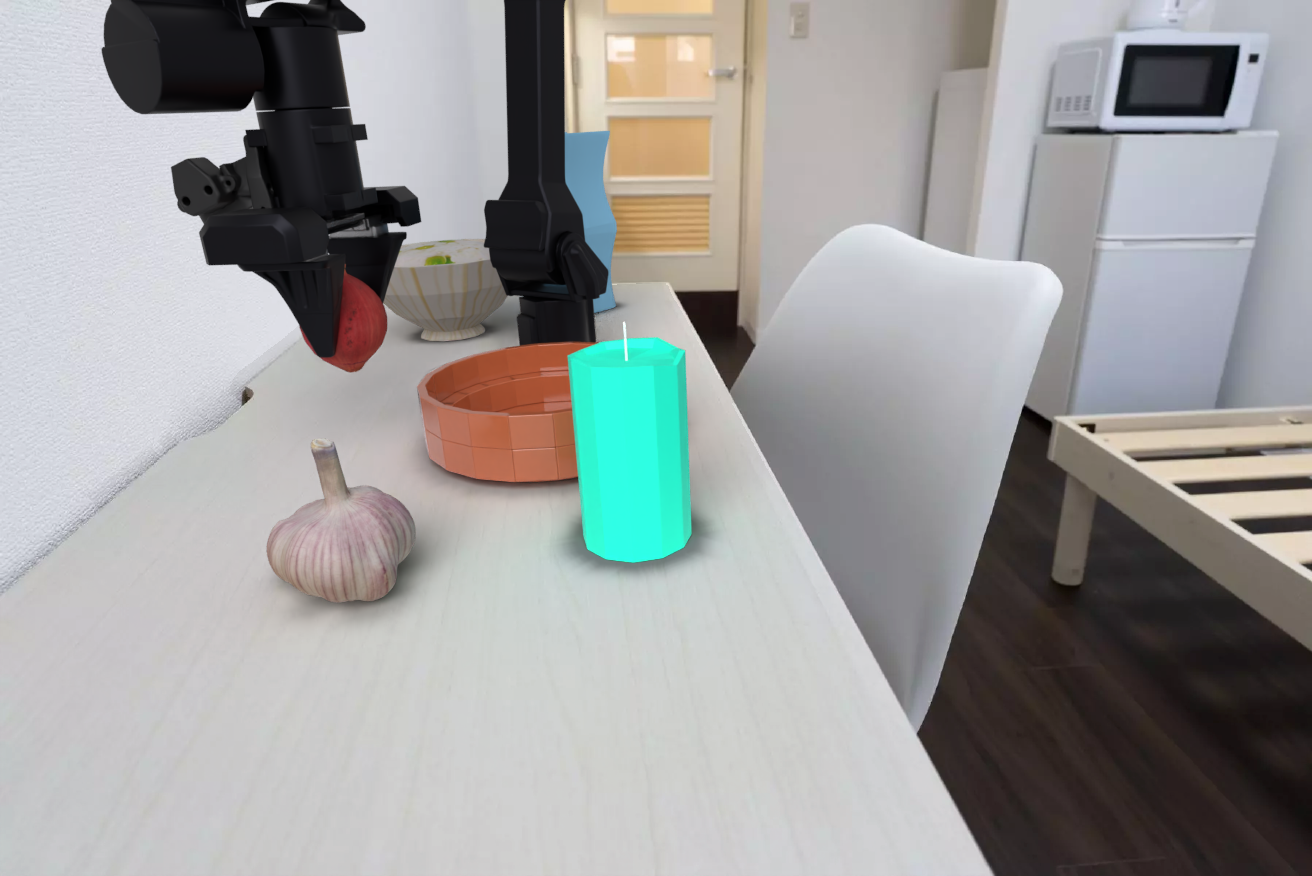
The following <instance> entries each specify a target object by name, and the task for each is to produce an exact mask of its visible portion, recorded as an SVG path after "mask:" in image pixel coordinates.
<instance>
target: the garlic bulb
mask: <svg viewBox="0 0 1312 876" xmlns="http://www.w3.org/2000/svg"><path fill="white" fill-rule="evenodd" d="M310 450H311V454H312V456H313V459H314V463H315V467H316V471H317V474H318V477H319V483H320V486H321V491H322V494H323V498H319V499H315V500H314V501H312V502H309V503H306V504H303V505H302V506H301V507H299V508H298V509H296V510H295V512H294V513H293V514H291V515H290V516H289V517H287V518H284V519H281V520H278V521H277V523H275V524H274V526H273V528H272V529H271V531H270V532H269V535H268V539H267V542H266V556H267V561H268V564H269V565H270V568H271V570H272V572H274V574H275V575H276V576H277V577H278V578H279V579H281V580H282V581H284V582H286V583H287V584H290V585H291V586H293V587H294V588H295V589H296V590H298V591H299V592H301V593H303V594H305V595H308V596H312V597H319V598H323V599H324V600H325V601H327V602H331V603H345V602H352V603H353V602H355V601H362V602H363V601H364V602H374V601H377V600H380V599H382V598H383V597H385V596H387V595H388V594H389V593H390V592H391V591H392V589H393V588H394V587H395V585H396V582H397V577H398V567H399V565H400V564H401V563H402V562H403V561H404V560H405V559H406V558H407V557H408V555H409V554H410V553H411V551H412V549H413V547H414V545H415V543H416V542H415V541H416V533H417V532H416V525H415V521H414V518H413V517H412V514H411V513H410V511H409V510H408V508H407V507H406V505H405V504H403V503H402V501H400V500H399V499H397V498H396V497H394V496H393V495H391V494H389V493H386V492H384V491H382V490H381V489H379V488H377V487H375V486H371V485H366V484H365V485H364V484H363V485H358V486H353V487H348V485H347V482H346V478H345V475H344V472H343V469H342V466H341V465H342V464H341V462H340V461H341V460H340V457H339V454H338V451H337V446H336V444H335V442H334V441H332V440H330V439H327V438H314V439H312V442H310Z"/></svg>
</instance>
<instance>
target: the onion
mask: <svg viewBox="0 0 1312 876" xmlns="http://www.w3.org/2000/svg"><path fill="white" fill-rule="evenodd" d="M345 268H346V264H345ZM298 326H299V331H300V333H301V336H302V338H303V340H304V342H305V343H306V345H307V346H308V347H309V349H310V350H311V351H312V353H313V354H314V355H315V356H317V354H316V353H315V351H314V349H313V348H312V346H311V344H310V342H309V341H308V339H307V337H306V336H305V334H304V332H303V331H302V329H301V327H300V325H299V324H298ZM387 331H388V315H387V311H386V306H385V304H384V303H382V301H381V299H380V298H379V297H378V295H377V294H376V293H375V292H374V291H373V290H372V289H371V288H370V287H369V286H368V285H366V284H365V283H364V282H362V281H361V280H359V279H357V278H355V277H353V276H351V275H349V274H347V273H346V270H345V269H344V280H343V289H342V300H341V310H340V321H339V332H338V339H337V346H336V352H335V355H334V356H333V357H331V358H320V357H318V358H319V359H321V360H322V361H323V362H326V363H327V364H329V365H331V366H334V367H336V368H337V369H340V370H342V371H345V372H347V373H357V372H359V371H361V370H362V369H363V368H364V366H365V365H366V363H367V362H368V361H369V360H370V359H372V357H373V356H374V355H375V354H376V353H377V351H378V350H379V349H380V348H381V346H382V345H383V343H384V341H385V338H386V335H387Z"/></svg>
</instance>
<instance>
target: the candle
mask: <svg viewBox="0 0 1312 876" xmlns="http://www.w3.org/2000/svg"><path fill="white" fill-rule="evenodd" d="M622 331H623V338H621V339H612V340H606V341H600V342H597V344H595V345H592V346H589V347H587V348H584V349H582V350H579V351H577V352H574V353H572V354H570V355H567V356H568V367H569V379H570V390H571V401H572V413H573V424H574V435H575V447H576V458H577V470H578V477H577V478H578V479H577V481H578V491H579V503H580V513H581V524H582V535H583V536H582V537H583V539H584V543H585V547H586V550H588V551H589V552H591V553H593V554H595V555H597V556H598V557H600V558H602V559H604V560H607V561H615V562H616V561H617V562H625V563H641V562H646V561H654V560H660V559H664V558H666V557H668V556H670V555H673V554H674V553H676V552H678V551H681V550H682V549H684V548H685V547H686V545H687V543H688V541H689V540H690V538H691V536H692V533H693V531H692V530H693V529H692V504H691V502H692V501H691V476H690V475H691V474H690V473H691V472H690V444H689V417H688V416H689V414H688V389H687V387H688V386H687V385H688V384H687V359H686V357H687V356H686V350H685V349H683V348H680V347H677V346H675V345H674V344H672V343H670V342H668V341H666V340H664V339H662V338H660V337H659V336H654V337H652V336H651V337H628V338H627V335H628V334H627V322H626V321H622Z"/></svg>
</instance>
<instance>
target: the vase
mask: <svg viewBox="0 0 1312 876" xmlns="http://www.w3.org/2000/svg"><path fill="white" fill-rule="evenodd" d="M610 135H611V131H610V130H597V131H582V132H581V131H579V132H567V131H565V180H566V184H567V186H568V188H569V190H570V192H571V194H572V195H573V197H574V199H575V201H576V203H577V205H578V207H579V208H580V210H581V212H582V215H583V224H584V233H585V242H586V243H587V244H588V245H589V247H590V248H591V249H592V250H593V252H594V253H595V254H596V255H597V257H598V258H599V259H600V260H601V262H602V263H603V264H604V265H605V267H606V268H607V269H608V272H609V274H608V282H607V289H606V293H604V294H601V295H599V296H600V298H597V299H593V304H594V314H596V313H600V312H604V311H607V310H610V309H611V310H612V309H613V308H614V309H615V308H616V307H617V304H616V300H615V299H616V298H615V296H614V295H615V294H614V290H613V284H612V281H613V280H612V259H613V252H614V246H615V242H616V241H615V240H616V236H617V232H618V227H617V225H618V224H617V221H616V218H615V216H614V213H613V211H612V209H611V206H610V204H609V200H608V197H607V194H606V189H605V182H604V168H605V167H604V166H605V158H606V152H607V147H608V144H609V143H608V142H609V139H610Z"/></svg>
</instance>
